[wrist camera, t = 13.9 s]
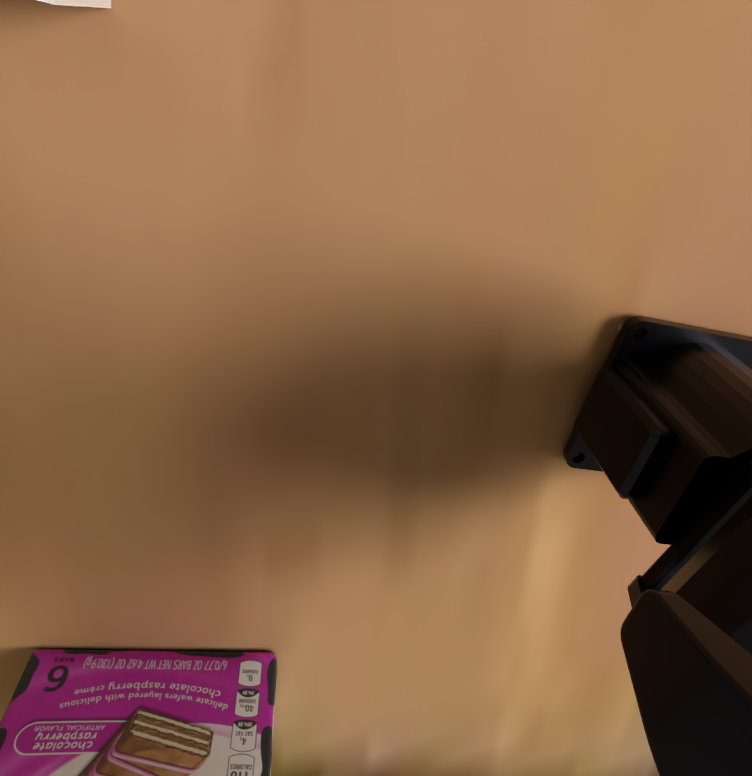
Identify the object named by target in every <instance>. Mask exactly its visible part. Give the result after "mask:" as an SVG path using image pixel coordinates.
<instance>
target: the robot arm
mask: <svg viewBox="0 0 752 776" xmlns="http://www.w3.org/2000/svg"><path fill="white" fill-rule="evenodd" d="M638 328H642V329H641V331H640V333H639V334H637V335H633V333H634V332H635V330H636V329H638ZM577 453H580V454H579V455H578V456H576V457H573V456H574V455H575V454H577ZM563 457H564V459H565V461H566V462H567V464H568V465H569V466H570V467H573V468H580V469H587V470H595V471H603V472H604V473H605V475H606V476H607V478H608V479H609V481H610V482H611V484H612V485H613V487H614V488H615V490H616V492H617V493H618V495H619V496H620V497H621V498H623V499H628V500H629V502H630V503H631V505H632V506H633V508H634V509H635V511H636V512H637V514H638V515H639V517H640V518H641V520H642V521H643V523H644V524H645V526H646V527H647V528H648V530H649V531H650V533H651V534H652V536H653V537H654V539H655V540H656V542H658V543H660V544H670V546H669V548H668V549H667V550H666V551H665V552H664V553H663V554H662V555H661V556H660V557H659V558H658V559H657V560H656V561H655V563H654V564H653V565H652V566H651V567H650V568H649V569H648V570H647V571H646V572H645V573H644V574H643V575H642V576H640V575H638V576H637V577H636V578H635V579H634V580H633V581H632V582H631V584H630V585H629V586H628V593H629V597H630V601H631V606H632V609H631V611H630V613H629V614H628V616H627V617H626V619H625V620H624V622H623V624H622V627H621V642H622V646H623V650H624V653H625V657H626V661H627V665H628V669H629V672H630V676H631V680H632V684H633V688H634V691H635V695H636V699H637V703H638V707H639V711H640V714H641V718H642V722H643V726H644V729H645V733H646V736H647V740H648V743H649V746H650V749H651V752H652V755H653V758H654V761H655V764H656V767H657V770H658V772H659V775H660V776H752V338H751V337H746V336H741V335H735V334H730V333H725V332H720V331H715V330H709V329H704V328H699V327H694V326H688V325H683V324H678V323H673V322H668V321H662V320H657V319H652V318H647V317H641V316H636V317H633V318H630V319H629V320H628V321H626V322H625V324H624V325H623V327H622V329H621V331H620V333H619V335H618V337H617V339H616V341H615V343H614V345H613V347H612V350H611V352H610V354H609V356H608V358H607V360H606V362H605V364H604V366H603V368H602V370H601V371H600V372H599V373H598V375H597V377H596V379H595V381H594V384H593V386H592V388H591V390H590V392H589V394H588V396H587V398H586V400H585V403H584V405H583V407H582V409H581V411H580V413H579V415H578V417H577V419H576V421H575V424H574V429H573V432H572V434H571V436H570V438H569V440H568V442H567V444H566V446H565V448H564V451H563Z"/></svg>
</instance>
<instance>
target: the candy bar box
mask: <svg viewBox="0 0 752 776" xmlns="http://www.w3.org/2000/svg"><path fill="white" fill-rule="evenodd" d="M276 666H277V660H276V653H274V652H196V651H116V650H65V649H36V650H34V651H33V653H32V655H31V657H30V660H29V662H28V663H27V665H26V668H25V670H24V672H23V674H22V677H21V679H20V681H19V683H18V686H17V688H16V690H15V692H14V694H13V697H12V699H11V701H10V703H9V705H8V708H7V710H6V712H5V714H4V716H3V718H2V721H1V723H0V776H270V772H271V756H272V738H273V721H274V704H275V688H276V675H277V669H276Z"/></svg>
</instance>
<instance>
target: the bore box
mask: <svg viewBox="0 0 752 776" xmlns="http://www.w3.org/2000/svg"><path fill="white" fill-rule="evenodd" d="M38 1H42V2H46V3H50V4H54V5H65V6H81V7H97V8H111V0H38Z"/></svg>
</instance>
